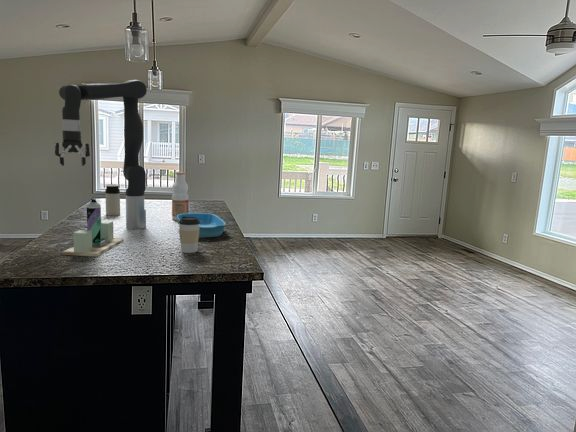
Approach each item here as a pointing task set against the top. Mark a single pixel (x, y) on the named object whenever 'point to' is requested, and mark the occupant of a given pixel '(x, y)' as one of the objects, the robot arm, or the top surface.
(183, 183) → the fruit juice
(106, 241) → the metal collar
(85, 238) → the sage pillars
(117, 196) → the travel mug
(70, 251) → the wooden board
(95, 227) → the spray can
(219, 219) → the casserole dish
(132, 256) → the top surface
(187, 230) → the coffee cup
